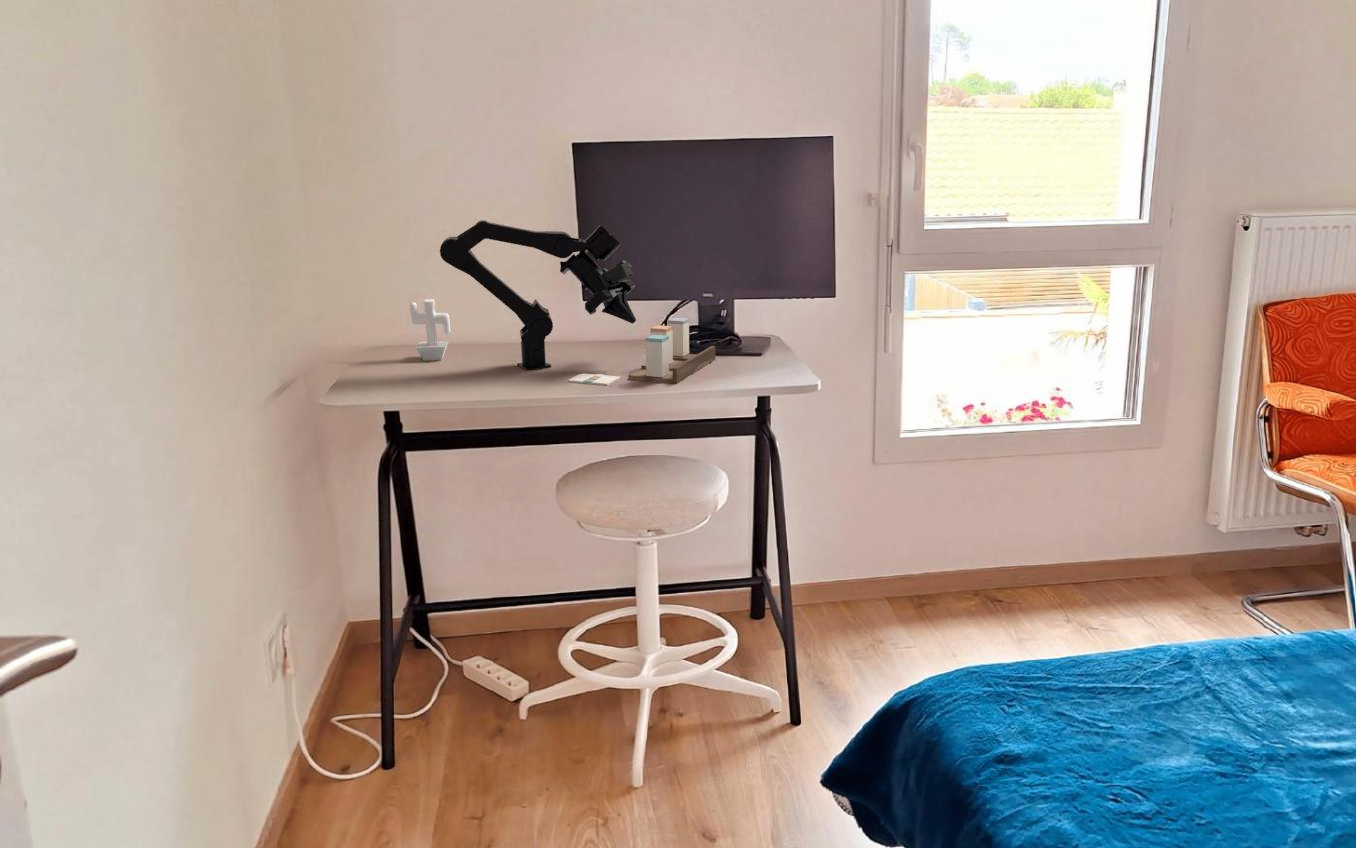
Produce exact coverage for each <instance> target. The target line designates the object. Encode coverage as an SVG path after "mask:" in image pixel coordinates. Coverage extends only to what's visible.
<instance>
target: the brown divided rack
mask: <svg viewBox="0 0 1356 848" xmlns="http://www.w3.org/2000/svg"><path fill="white" fill-rule="evenodd" d="M713 360H714V361H716V346H715V345H710V346H709V347H707V348H705V349H704V350H702V351H700V352H699V353H697V354H695V353H689V354H687V355H685V356H673V363H671V364H669V374H667V375H666V376H664V377H653V376H646V365H641V368H639V369H637V370H636V371H634V372H631V373H630V374H628V375H627V379H628V380H631V381H643V382H655V383H664V384H675V385H677V384H679V383H680V382H682V381H684V380H685V379H687V378H689V377H690V376H692V375H693V374H695V373H696V371H697V370H698V371H700V370H702V369H703V368H704V367H707V366H708V365H710V364H711V363H713V362H714V361H713ZM712 361H713V362H712ZM710 362H711V363H710ZM709 363H710V364H709ZM707 364H708V365H707ZM698 371H697V372H698ZM694 372H695V373H694ZM688 376H689V377H688Z"/></svg>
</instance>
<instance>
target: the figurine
mask: <svg viewBox="0 0 1356 848" xmlns="http://www.w3.org/2000/svg"><path fill="white" fill-rule="evenodd" d="M435 301H436V300H435V299H433V298H426V299H424V300H423V301H422V303H423V309H424V312H423V313H422V312H418V305H417V303H416V302H414V301H412V302H410V303H409V308H410V309H409V311H410V319H411V322H412V324H413V325H415V326H417V325H425V332H426V333H425V334H426V341H419V342H418V344H417V345H416V346H415V349H416V351H417V352H418V354H419V355H420V357H421V359H422V361H426V362H427V361H442V360H443V358H444V356H445V354H446V350H447V347H448V344H449V341H448V340H442V341H441V340H439V341H438V334H437V333H438V332H437V325H442V326H443V327H442V328H443V333H444V334H445V335H450V334H451V320H450V319H451V318H450V315H449V314H448V313H447V312H436V302H435Z"/></svg>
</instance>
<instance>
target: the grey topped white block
mask: <svg viewBox="0 0 1356 848" xmlns="http://www.w3.org/2000/svg"><path fill="white" fill-rule="evenodd" d="M667 326H673V356H685V355H687V354H690V318H686V317H685V318H683V317H673V318H670V319H668V320H667Z"/></svg>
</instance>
